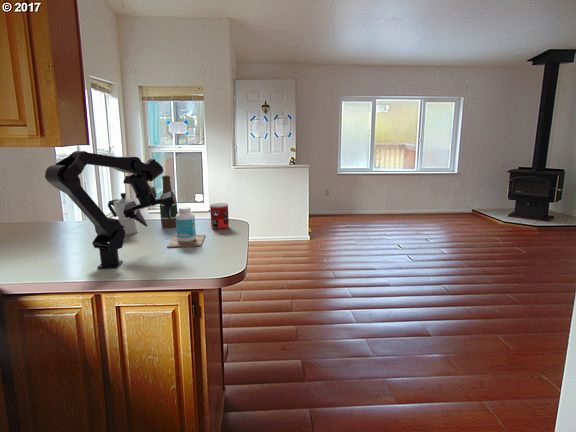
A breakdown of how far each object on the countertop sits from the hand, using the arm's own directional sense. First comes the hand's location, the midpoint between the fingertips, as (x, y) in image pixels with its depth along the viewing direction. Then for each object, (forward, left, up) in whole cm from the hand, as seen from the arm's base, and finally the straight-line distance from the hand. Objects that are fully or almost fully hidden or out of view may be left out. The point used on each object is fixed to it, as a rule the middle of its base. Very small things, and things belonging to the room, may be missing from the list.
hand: (158, 222), depth 154 cm
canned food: (+28, -21, -10) cm, 37 cm away
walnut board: (+7, -9, -10) cm, 15 cm away
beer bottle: (+35, +3, -10) cm, 37 cm away
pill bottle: (+7, -9, -10) cm, 15 cm away
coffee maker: (+26, +21, -10) cm, 35 cm away
